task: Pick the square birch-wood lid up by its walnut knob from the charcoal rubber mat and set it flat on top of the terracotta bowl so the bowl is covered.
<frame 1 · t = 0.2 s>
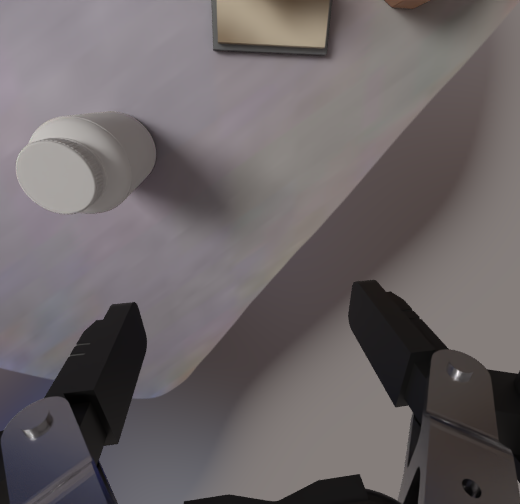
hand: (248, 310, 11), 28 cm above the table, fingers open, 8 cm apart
pill bottle: (122, 149, 34), on the table
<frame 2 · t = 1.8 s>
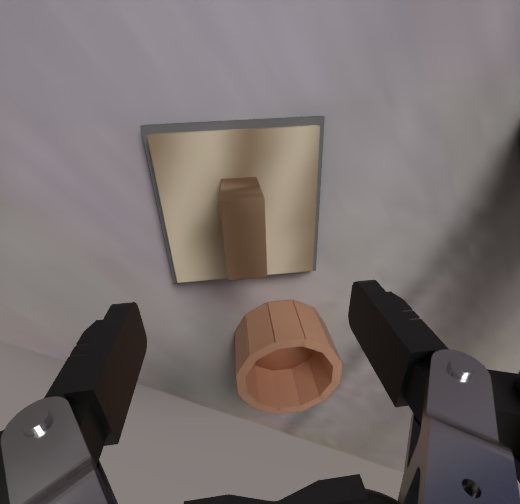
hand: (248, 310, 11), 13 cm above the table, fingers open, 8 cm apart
mat: (240, 205, 22), on the table
lid: (240, 208, 22), point 1 cm above the table, touching mat
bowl: (280, 337, 29), on the table
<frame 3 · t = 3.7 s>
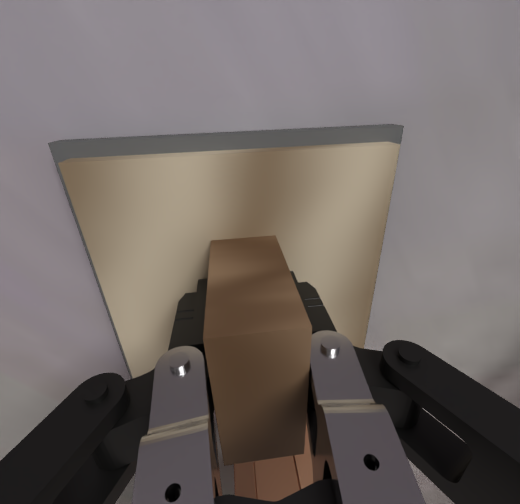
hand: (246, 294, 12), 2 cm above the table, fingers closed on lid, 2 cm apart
mat: (244, 272, 13), on the table
lid: (245, 282, 13), point 1 cm above the table, touching gripper
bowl: (299, 441, 20), on the table
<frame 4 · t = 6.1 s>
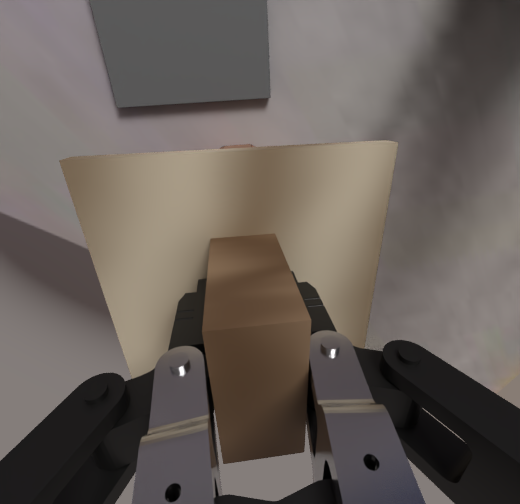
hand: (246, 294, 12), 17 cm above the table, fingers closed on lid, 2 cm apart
mat: (182, 8, 21), on the table
lid: (245, 281, 13), point 16 cm above the table, touching gripper
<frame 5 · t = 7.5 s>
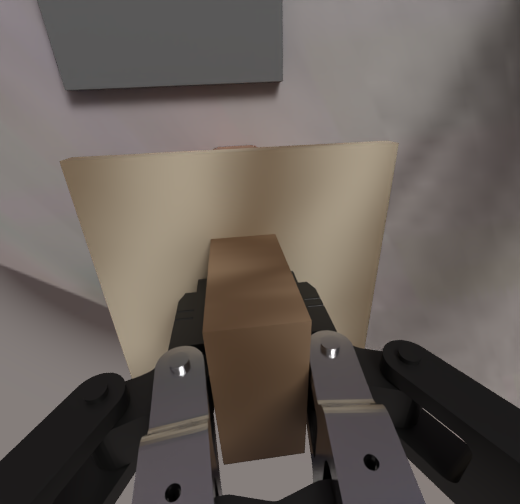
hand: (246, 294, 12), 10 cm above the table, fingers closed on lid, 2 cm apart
lid: (245, 282, 13), point 9 cm above the table, touching gripper
when the fingers open (7 cm above the table, at t = 8.8 s): lid stays where it is, resting on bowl.
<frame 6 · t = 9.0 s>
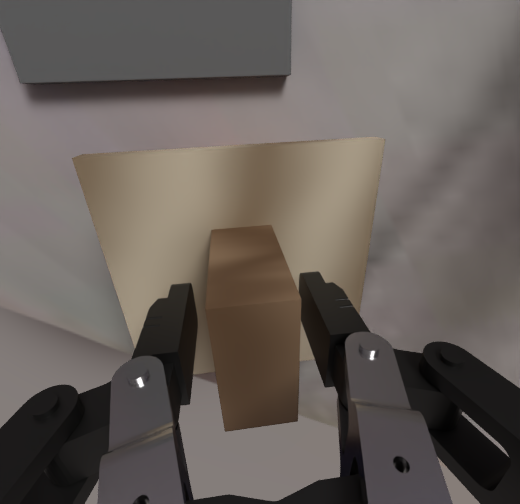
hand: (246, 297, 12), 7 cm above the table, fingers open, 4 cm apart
lid: (244, 270, 13), point 5 cm above the table, touching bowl
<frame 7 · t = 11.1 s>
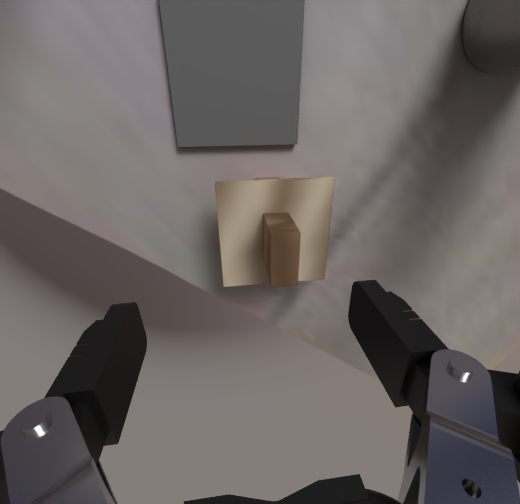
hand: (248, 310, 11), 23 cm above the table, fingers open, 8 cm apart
mat: (235, 76, 27), on the table
lid: (274, 233, 30), point 5 cm above the table, touching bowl
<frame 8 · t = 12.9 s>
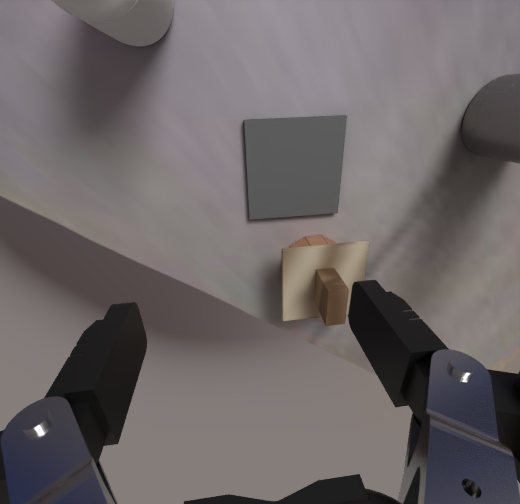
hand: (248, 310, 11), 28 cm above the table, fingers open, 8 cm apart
mat: (293, 169, 37), on the table
lid: (322, 281, 39), point 5 cm above the table, touching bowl
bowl: (311, 263, 44), on the table
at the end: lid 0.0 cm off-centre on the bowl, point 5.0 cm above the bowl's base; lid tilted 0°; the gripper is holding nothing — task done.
